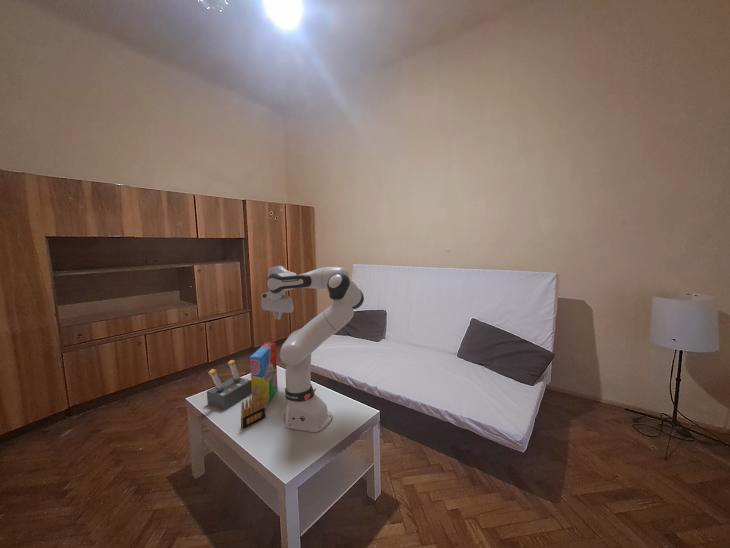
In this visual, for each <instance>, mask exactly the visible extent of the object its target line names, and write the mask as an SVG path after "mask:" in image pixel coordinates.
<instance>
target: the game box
mask: <svg viewBox="0 0 730 548" xmlns="http://www.w3.org/2000/svg"><path fill="white" fill-rule="evenodd" d="M276 346H277V345H276V341H265V342H264V343H263V344H262V345H261V346H260V347H259V348H258V349H257V350H256V351H255V352H254V353H253V354H252V355H250V356H249V363H250V364H249V365H250V380H251V387H252V393H251V400H252V406H253V397H255V399H256V404H257V395H259V400H260V396H261V393H262V395H263V401H264V407H265V410H266V409H267V408H268V406H269V404H270V402H271V401H272V400H273V398H274V396H275V395H276V393H277V392H278V389H279V388H278V368H277V347H276Z"/></svg>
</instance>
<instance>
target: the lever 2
mask: <svg viewBox="0 0 730 548" xmlns="http://www.w3.org/2000/svg"><path fill="white" fill-rule="evenodd" d="M227 365H228V366H229V368H230V371H231V374H232V378H233V381H237V382H240V380H241V378H242V377H240V375H239V372H238V369H237V366H236V360H235V359H230V360H229V361H228V362H227Z"/></svg>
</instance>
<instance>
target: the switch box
mask: <svg viewBox="0 0 730 548" xmlns="http://www.w3.org/2000/svg"><path fill="white" fill-rule="evenodd" d="M221 383H222V385H223V386H224V387H225V389H224V390H223V391H220V390H216V386H213V387H212V388H210V389H208V390H207V391H206V398H207V399H206V401H207V405H208V404H209V405H208V406H211V405H212V407H215V408H217V409H221V410H224V411H226V410H227V409H229V408H231V407H232V406H234V405H236V404H237V403H239V402H241V401H242V400H243V399H245V398H246V397H249V395H252V387H251V379H247V378H243V377H241V380H240V382H237V381H233V377H231V378H229V379H227V380H225V381H224V382H221Z"/></svg>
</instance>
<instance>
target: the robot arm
mask: <svg viewBox="0 0 730 548" xmlns="http://www.w3.org/2000/svg"><path fill="white" fill-rule="evenodd" d="M265 284H266V288H267V290H268V291H267V292H264V293H261V296H260V297H261V300H260V303H261V305H260V306H261V309H262V310H263V311H267V312H268V311H269V312H272V315H273V316H274V319H275V320H281V319H282V315H283V313H284V314H285V313H286V314H291V313H293V312H294V309H295V307H294V302H293V298H292V297H291V296H290V295H286V291H291V290H294V289H301V288H302V289H315V290H327V291H328V293H329V294H328V295H329V299H331V300H333V301H332V303H331V305H329V306H328V307H327V308H325V309H324V310H323V311H321V312H320V313H318V314H317V315H316V316H314V317H313V318H312V319H310V320H309V321H308V322H307V323H306V324H305V325H304V326H302V328H299V329H296V330H293V331H292V332H291V333H290V334H289V335H288V337H287V338H286V340H285V341H284V342H283V344H282V345H281V347H280V348H281V349H280V352H279V358H280V361H281V362H282V363H283V364H284V365H285V366H286V367H285V388H284V390H285V391H284V396H285V411H284V415H283V422H284V428H285V429H290V430H297V431H302V432H303V431H304V432H310V433H318V432H320V431H322V430H324V429H326V427H327V426H329V424H330V423H331V422H332V420H333V418H334V416H333V412H332V411H329V410H328V407H327V404H326V402H324V401H323V399H322V398H320V397H319V396H318V395H317V394H316V393H315V392H316V391H317V390H316V389H317V387H315V388H314V387H313V385H312V382H311V381H312V380H311V365H312V353H313V352H314V351H316V350H317V349H318V347H320V346H321V345H322V344H323V343H324V342H325V341H327V340H328V339H330V338H331V337H332V336H333V335H335V334H337V332H339V331H340V330H342V329H343V328H344V327H345V326H346V325H347V324H349V322H350V321H351V320H352V318H353V317H354V316H355V312H354V310H357V309H359V308H360V307H361V306H362V305H363V303H364V300H365V296H364V293H363V291H362V290H361V289H360V288H359V287H358V285H357V284H356V283H355V282H354V281H353V280H352V279H351V278H350V274H349V271H348V270H347V269H346V268H345V267H342V266H341V267H340V266H325V267H320V268H315V269H313V270H310V271H307V272H304V273H300V274H297V273H296V272H294V271H290V270H288V269H286V268H285V267H284V266H283V265H274V266H270V267H269V268H268V270H267V279H266V283H265Z"/></svg>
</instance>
